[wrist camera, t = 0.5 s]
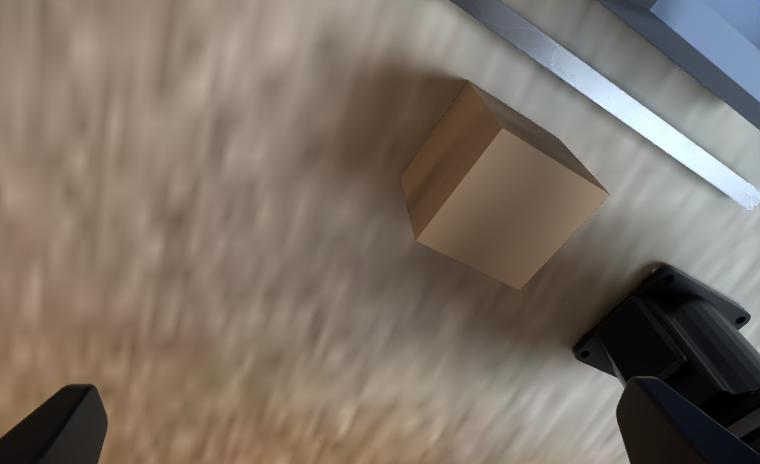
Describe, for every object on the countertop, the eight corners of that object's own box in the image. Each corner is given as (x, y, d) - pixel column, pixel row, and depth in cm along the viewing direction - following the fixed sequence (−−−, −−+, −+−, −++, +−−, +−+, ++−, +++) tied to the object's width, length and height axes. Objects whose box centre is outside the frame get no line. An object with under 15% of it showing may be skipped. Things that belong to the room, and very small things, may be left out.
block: (558, 137, 20) (610, 194, 17) (487, 222, 22) (519, 290, 19) (467, 79, 19) (502, 127, 15) (399, 176, 21) (415, 240, 17)
